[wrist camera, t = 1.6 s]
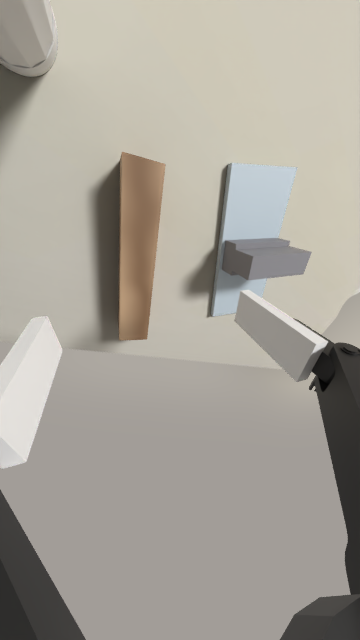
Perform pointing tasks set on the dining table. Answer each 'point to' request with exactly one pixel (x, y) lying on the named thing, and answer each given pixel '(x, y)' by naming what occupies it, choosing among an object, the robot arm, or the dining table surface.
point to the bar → (137, 241)
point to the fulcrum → (253, 234)
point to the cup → (27, 36)
